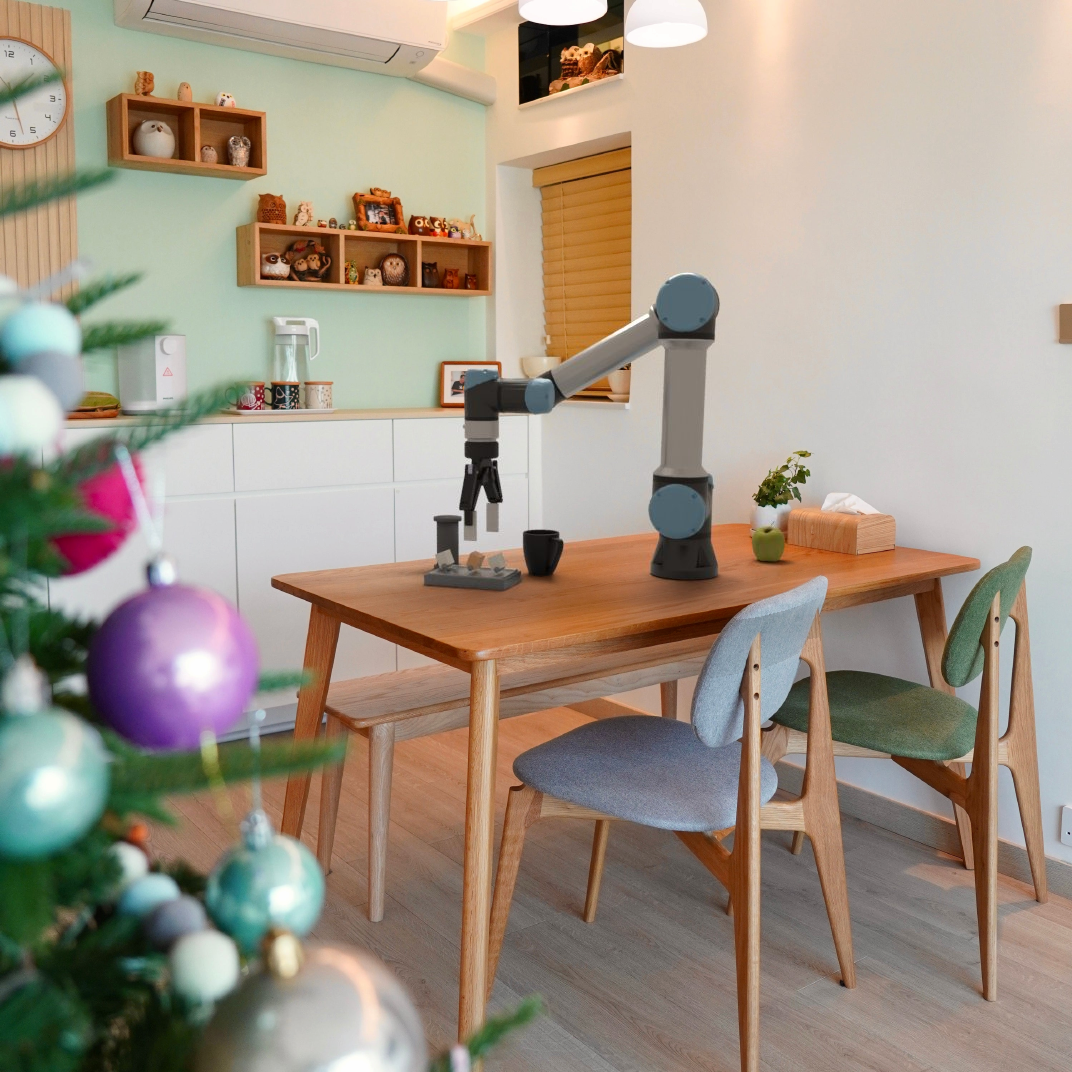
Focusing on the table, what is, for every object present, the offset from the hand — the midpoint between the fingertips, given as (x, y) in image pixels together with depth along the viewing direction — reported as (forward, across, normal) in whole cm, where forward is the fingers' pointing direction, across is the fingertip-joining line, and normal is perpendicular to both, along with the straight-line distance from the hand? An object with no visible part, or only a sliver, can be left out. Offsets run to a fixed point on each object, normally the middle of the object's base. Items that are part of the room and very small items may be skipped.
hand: (481, 536), depth 236 cm
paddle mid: (+5, +9, +2) cm, 11 cm away
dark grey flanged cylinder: (+9, -4, -10) cm, 14 cm away
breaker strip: (+9, +9, +2) cm, 13 cm away
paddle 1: (+5, +9, -4) cm, 11 cm away
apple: (+9, -41, +58) cm, 72 cm away
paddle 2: (+5, +9, +8) cm, 13 cm away
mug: (+9, -5, +13) cm, 17 cm away
